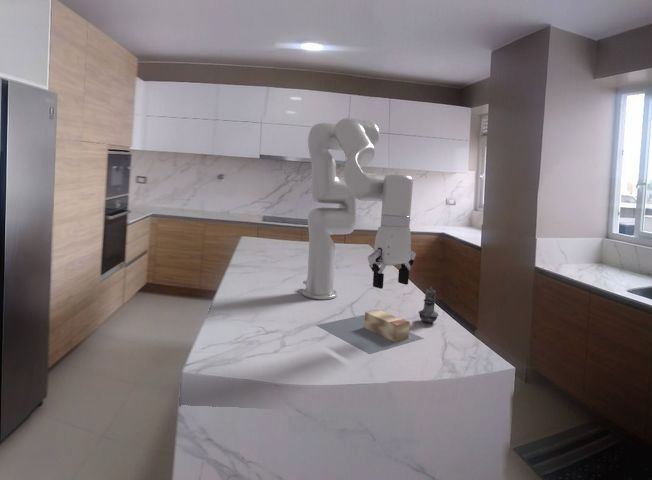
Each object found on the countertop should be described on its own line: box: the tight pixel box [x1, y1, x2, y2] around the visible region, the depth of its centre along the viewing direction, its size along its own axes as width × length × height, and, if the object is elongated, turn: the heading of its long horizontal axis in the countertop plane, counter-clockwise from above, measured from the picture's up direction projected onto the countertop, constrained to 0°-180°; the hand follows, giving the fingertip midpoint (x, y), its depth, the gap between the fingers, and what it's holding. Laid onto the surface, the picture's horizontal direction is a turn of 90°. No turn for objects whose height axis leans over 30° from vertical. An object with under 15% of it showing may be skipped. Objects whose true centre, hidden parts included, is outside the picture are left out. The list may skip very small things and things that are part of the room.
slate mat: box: [316, 314, 424, 355], centre depth 112 cm, size 22×20×1 cm
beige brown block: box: [364, 309, 411, 342], centre depth 112 cm, size 12×5×5 cm, turn 38°
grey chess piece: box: [418, 285, 439, 325], centre depth 122 cm, size 6×6×12 cm
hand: (390, 285), depth 110 cm, fingers open, 9 cm apart
